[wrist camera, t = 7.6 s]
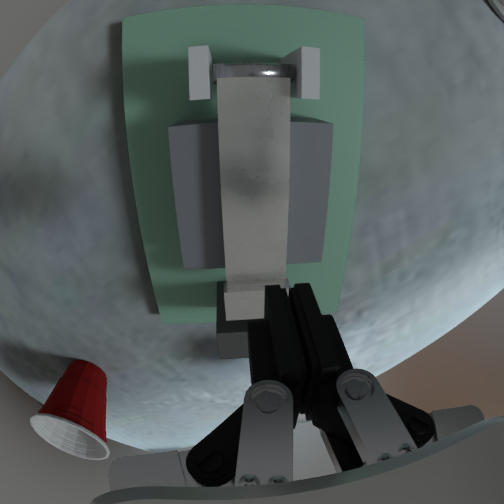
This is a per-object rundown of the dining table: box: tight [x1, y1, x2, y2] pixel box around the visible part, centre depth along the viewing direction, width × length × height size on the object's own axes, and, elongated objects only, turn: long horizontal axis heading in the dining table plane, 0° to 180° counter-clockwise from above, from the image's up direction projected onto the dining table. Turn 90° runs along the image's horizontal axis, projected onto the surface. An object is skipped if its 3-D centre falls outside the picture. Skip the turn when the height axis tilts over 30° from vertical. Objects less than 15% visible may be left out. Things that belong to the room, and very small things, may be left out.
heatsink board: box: [122, 4, 365, 359], centre depth 20 cm, size 28×18×8 cm, turn 1°
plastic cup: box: [30, 360, 110, 460], centre depth 29 cm, size 11×11×12 cm
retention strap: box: [213, 63, 294, 321], centre depth 17 cm, size 17×4×2 cm, turn 1°
